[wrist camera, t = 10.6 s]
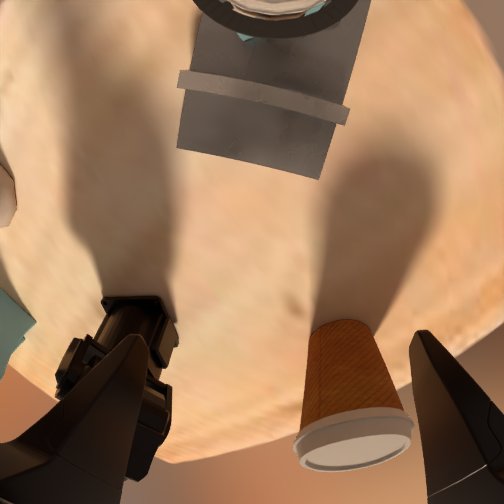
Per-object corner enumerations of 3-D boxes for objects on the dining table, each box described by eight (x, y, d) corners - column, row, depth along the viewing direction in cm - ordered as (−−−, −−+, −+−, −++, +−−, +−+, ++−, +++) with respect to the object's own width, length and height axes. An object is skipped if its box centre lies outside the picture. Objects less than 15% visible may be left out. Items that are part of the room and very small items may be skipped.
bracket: (316, 173, 20) (322, 192, 17) (181, 143, 19) (166, 156, 16) (376, -41, 11) (392, -56, 8) (234, -75, 10) (227, -95, 8)
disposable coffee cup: (390, 355, 29) (414, 456, 19) (306, 377, 32) (309, 478, 22) (382, 293, 25) (420, 417, 15) (277, 322, 27) (275, 448, 17)
